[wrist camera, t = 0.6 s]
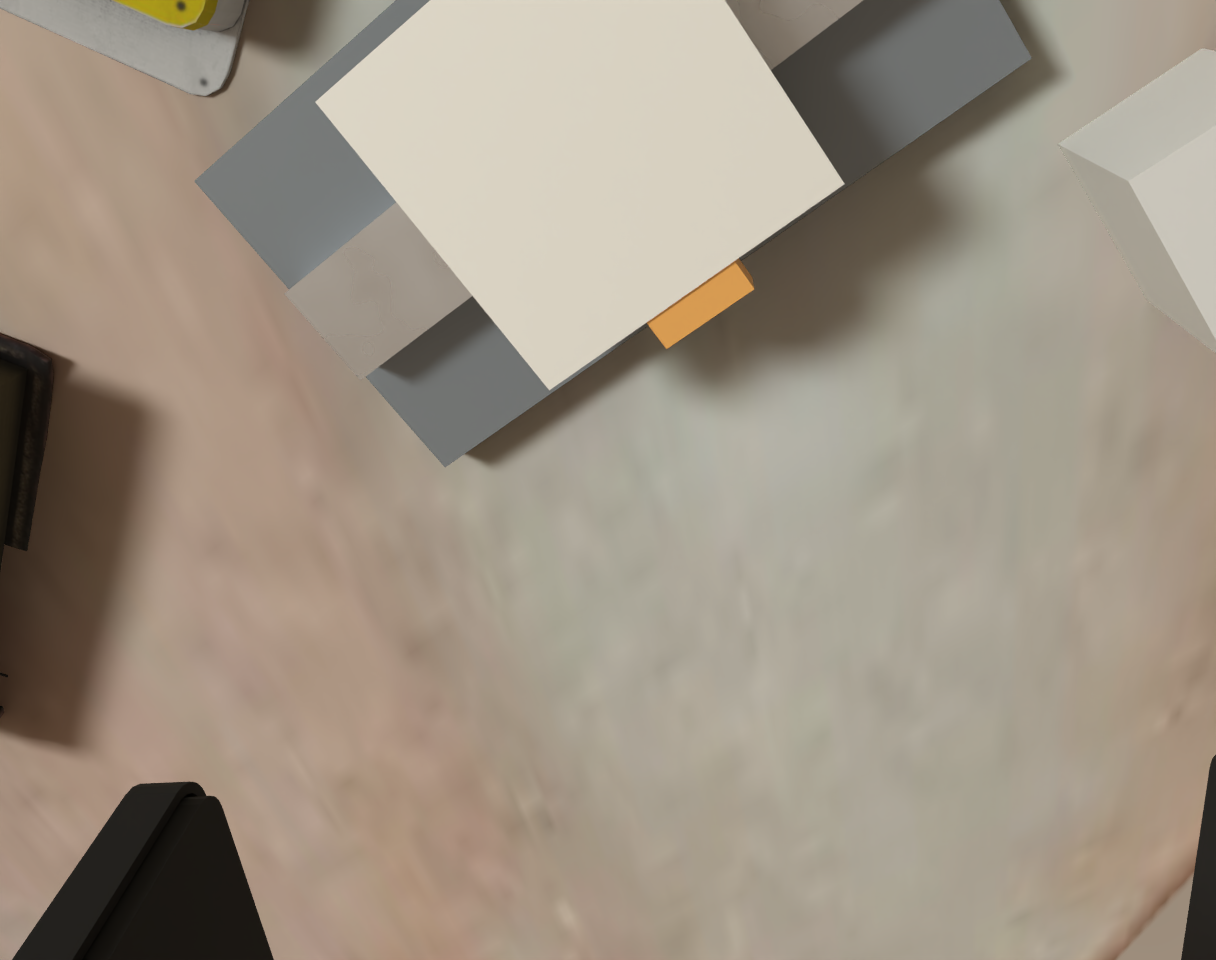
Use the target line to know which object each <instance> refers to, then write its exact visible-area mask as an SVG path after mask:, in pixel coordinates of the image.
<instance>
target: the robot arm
mask: <svg viewBox="0 0 1216 960" xmlns="http://www.w3.org/2000/svg"><path fill="white" fill-rule="evenodd" d="M12 960H274V959H273V956H272V953H271V950H270V947H269V944H268V941H267V938H266V935H265V932H264V929H263V927H262V924H261V921H260V918H259V915H258V912H257V909H256V906H255V903H254V900H253V897H252V894H251V891H250V888H249V885H248V882H247V879H246V876H245V873H244V870H243V867H242V864H241V861H240V858H239V855H238V852H237V849H236V847H235V844H234V841H233V838H232V835H231V832H230V829H229V826H228V823H227V820H226V817H225V814H224V811H223V808H222V806H221V804H220V802H219V800H218V799H217V798H216V797H214V796H206V794H205V792H204V790H203V788H202V787H201V786H200V785H199V784H198V783H195V782H173V783H150V784H139V785H136V786H134V787H132V788H131V789H130V791H129V792H128V793H127V794H126V795H125V796H124V798H123V799H122V801H121V802H120V804H119V805H118V807H117V808H116V809H115V811H114V812H113V814H112V815H111V817H110V818H109V820H108V821H107V823H106V824H105V825H104V827H103V828H102V830H101V831H100V833H99V834H98V836H97V837H96V839H95V840H94V841H93V843H92V844H91V846H90V847H89V849H88V850H87V852H86V853H85V855H84V856H83V857H82V859H81V860H80V862H79V863H78V865H77V866H76V868H75V869H74V870H73V872H72V873H71V875H70V876H69V878H68V879H67V881H66V882H65V884H64V885H63V886H62V888H61V889H60V891H59V892H58V894H57V895H56V897H55V898H54V900H53V901H52V902H51V904H50V905H49V907H48V908H47V910H46V911H45V913H44V914H43V916H42V917H41V918H40V920H39V921H38V923H37V924H36V926H35V927H34V929H33V930H32V932H31V933H30V934H29V936H28V937H27V939H26V940H25V942H24V943H23V945H22V946H21V947H20V949H19V950H18V952H17V953H16V955H15V956H14V958H13V959H12ZM1181 960H1216V755H1215V756H1214V757H1213V759H1212V761H1211V765H1210V770H1209V777H1208V783H1207V790H1206V797H1205V803H1204V810H1203V817H1202V824H1201V830H1200V837H1199V844H1198V850H1197V857H1196V864H1195V871H1194V877H1193V884H1192V891H1191V898H1190V904H1189V911H1188V918H1187V924H1186V931H1185V938H1184V944H1183V951H1182V958H1181Z"/></svg>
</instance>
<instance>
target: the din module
mask: <svg viewBox="0 0 1216 960" xmlns="http://www.w3.org/2000/svg"><path fill="white" fill-rule="evenodd" d="M1058 145H1059V147H1060V149H1061V151H1062V152H1063V154H1064V156H1065V158H1066V159H1067V161H1068V163H1069V165H1070V166H1071V168H1072V170H1073V172H1074V173H1075V175H1076V177H1077V179H1078V180H1079V182H1080V184H1081V186H1082V188H1083V189H1084V191H1085V193H1086V195H1087V196H1088V198H1089V200H1090V202H1091V203H1092V205H1093V207H1094V209H1095V210H1096V212H1097V214H1098V216H1099V217H1100V219H1101V221H1102V223H1103V224H1104V226H1105V228H1106V230H1107V231H1108V233H1109V235H1110V237H1111V238H1112V240H1113V242H1114V244H1115V245H1116V247H1117V249H1118V251H1119V253H1120V254H1121V256H1122V258H1123V260H1124V261H1125V263H1126V265H1127V267H1128V268H1129V270H1130V272H1131V274H1132V275H1133V277H1134V279H1135V281H1136V282H1137V284H1138V286H1139V288H1140V289H1141V291H1142V293H1143V295H1144V296H1145V298H1146V300H1147V301H1148V302H1150V303H1151V304H1152V305H1153V306H1155V307H1156V308H1157V309H1159V310H1160V311H1161V312H1163V313H1164V314H1165V315H1166V316H1168V317H1169V318H1170V319H1172V320H1173V321H1174V322H1176V323H1177V324H1178V325H1179V326H1181V327H1182V328H1183V329H1185V330H1186V331H1187V332H1189V333H1190V334H1191V335H1192V336H1194V337H1195V338H1196V339H1198V340H1199V341H1200V342H1202V343H1203V344H1204V345H1205V346H1207V347H1208V348H1209V349H1211V350H1212V351H1213V352H1215V353H1216V51H1213V50H1208V49H1203V48H1201V49H1200V50H1198V51H1197V52H1195V53H1194V54H1192V55H1191V56H1189V57H1188V58H1186V59H1185V60H1183V61H1182V62H1180V63H1179V64H1177V65H1176V66H1174V67H1173V68H1171V69H1170V70H1168V71H1167V72H1165V73H1164V74H1162V75H1161V76H1159V77H1158V78H1156V79H1155V80H1153V81H1152V82H1150V83H1149V84H1147V85H1146V86H1144V87H1143V88H1141V89H1140V90H1138V91H1137V92H1135V93H1134V94H1132V95H1131V96H1129V97H1128V98H1126V99H1125V100H1123V101H1122V102H1120V103H1119V104H1117V105H1116V106H1114V107H1113V108H1111V109H1110V110H1108V111H1107V112H1105V113H1104V114H1102V115H1101V116H1099V117H1098V118H1096V119H1095V120H1093V121H1092V122H1090V123H1089V124H1087V125H1086V126H1084V127H1083V128H1081V129H1080V130H1078V131H1077V132H1075V133H1074V134H1072V135H1071V136H1069V137H1068V138H1066V139H1065V140H1063V141H1062V142H1060V143H1059V144H1058Z"/></svg>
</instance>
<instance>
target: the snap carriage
mask: <svg viewBox="0 0 1216 960" xmlns="http://www.w3.org/2000/svg"><path fill="white" fill-rule="evenodd" d="M316 104H317V105H318V106H319V107H320V109H321V110H322V111H323V112H324V114H325V115H326V116H327V117H328V118H329V120H330V121H331V122H332V123H333V125H334V126H335V127H336V128H337V130H338V131H339V132H340V133H341V134H342V136H343V137H344V138H345V139H346V141H347V142H348V143H349V144H350V146H351V147H352V148H353V149H354V150H355V152H356V153H357V154H358V155H359V157H360V158H361V159H362V160H363V162H364V163H365V164H366V165H367V166H368V168H369V169H370V170H371V171H372V173H373V174H374V175H375V176H376V178H377V179H378V180H379V181H380V182H381V184H382V185H383V186H384V187H385V189H386V190H387V191H388V192H389V194H390V195H391V196H392V197H393V198H394V200H395V201H396V202H397V203H398V205H399V206H400V207H401V208H402V210H403V211H404V212H405V213H406V214H407V216H408V217H409V218H410V219H411V221H412V222H413V223H414V224H415V226H416V227H417V228H418V229H419V230H420V232H421V233H422V234H423V235H424V237H425V238H426V239H427V240H428V242H429V243H430V244H431V245H432V246H433V248H434V249H435V250H436V251H437V253H438V254H439V255H440V256H441V258H442V259H443V260H444V261H445V263H446V264H447V265H448V266H449V267H450V269H451V270H452V271H453V272H454V274H455V275H456V276H457V277H458V279H459V280H460V281H461V282H462V283H463V285H464V286H465V287H466V288H467V290H468V291H469V292H470V293H471V295H472V296H473V297H474V298H475V299H476V301H477V302H478V303H479V304H480V306H481V307H482V308H483V309H484V311H485V312H486V313H487V314H488V315H489V317H490V318H491V319H492V320H493V322H494V323H495V324H496V325H497V327H498V328H499V329H500V330H501V331H502V333H503V334H504V335H505V336H506V338H507V339H508V340H509V341H510V343H511V344H512V345H513V346H514V347H515V349H516V350H517V351H518V352H519V354H520V355H521V356H522V357H523V359H524V360H525V361H526V362H527V363H528V365H529V366H530V367H531V368H532V370H533V371H534V372H535V373H536V375H537V376H538V377H539V378H540V379H541V381H542V382H543V383H544V384H545V386H546V387H547V388H548V389H549V390H551V389H552V388H553V387H555V386H556V385H558V384H559V383H561V382H562V381H563V380H565V379H566V378H568V377H569V376H571V375H572V374H574V373H575V372H576V371H578V370H579V369H581V368H582V367H584V366H585V365H586V364H588V363H589V362H591V361H592V360H594V359H595V358H596V357H598V356H599V355H601V354H602V353H604V352H605V351H606V350H608V349H609V348H611V347H612V346H614V345H615V344H616V343H618V342H619V341H621V340H622V339H624V338H625V337H626V336H628V335H629V334H631V333H632V332H634V331H635V330H636V329H638V328H639V327H641V326H642V325H644V324H645V323H647V324H648V325H649V327H650V328H651V329H652V331H653V332H654V333H655V335H656V336H657V337H658V339H659V340H660V341H661V342H662V344H663V345H664V346H665V348H666V349H668V348H669V347H671V346H672V345H673V344H675V343H676V342H678V341H679V340H681V339H682V338H684V337H685V336H687V335H688V334H690V333H691V332H692V331H694V330H695V329H697V328H698V327H700V326H701V325H703V324H704V323H706V322H707V321H709V320H710V319H711V318H713V317H714V316H716V315H717V314H719V313H720V312H722V311H723V310H725V309H726V308H728V307H729V306H730V305H732V304H733V303H735V302H736V301H738V300H739V299H741V298H742V297H744V296H745V295H747V294H748V293H749V292H751V291H752V290H754V284H753V278H752V276H751V275H750V273H749V272H748V271H747V269H746V268H745V266H744V265H743V264H742V262H741V261H740V259H739V257H741V256H742V255H744V254H745V253H747V252H748V251H750V250H751V249H752V248H754V247H755V246H757V245H758V244H760V243H761V242H762V241H764V240H765V239H767V238H768V237H770V236H771V235H772V234H774V233H775V232H777V231H778V230H780V229H781V228H782V227H784V226H785V225H787V224H788V223H790V222H791V221H792V220H794V219H795V218H797V217H798V216H800V215H801V214H802V213H804V212H805V211H807V210H808V209H810V208H811V207H812V206H814V205H815V204H817V203H818V202H820V201H821V200H822V199H824V198H825V197H827V196H828V195H830V194H831V193H832V192H834V191H835V190H837V189H838V188H840V187H841V186H843V185H844V182H843V181H842V179H841V178H840V176H839V175H838V173H837V171H836V170H835V168H834V167H833V165H832V164H831V162H830V161H829V159H828V158H827V156H826V155H825V153H824V151H823V150H822V148H821V147H820V145H819V144H818V142H817V141H816V139H815V138H814V136H813V135H812V133H811V132H810V130H809V128H808V127H807V125H806V124H805V122H804V121H803V119H802V118H801V116H800V115H799V113H798V112H797V110H796V108H795V107H794V105H793V104H792V102H791V101H790V99H789V98H788V96H787V95H786V93H785V92H784V90H783V89H782V87H781V85H780V84H779V82H778V81H777V79H776V78H775V76H774V75H773V73H772V72H771V70H770V69H769V67H768V66H767V64H766V62H765V61H764V59H763V58H762V56H761V55H760V53H759V52H758V50H757V49H756V47H755V46H754V44H753V42H752V41H751V39H750V38H749V36H748V35H747V33H746V32H745V30H744V29H743V27H742V26H741V24H740V23H739V21H738V19H737V18H736V16H735V15H734V13H733V12H732V10H731V9H730V7H729V6H728V4H727V3H726V1H725V0H430V1H429V2H428V3H426V4H425V5H424V6H423V7H422V8H421V9H420V10H418V11H417V12H416V13H415V14H414V15H413V16H412V17H411V18H409V19H408V20H407V21H406V22H405V23H404V24H403V25H402V26H400V27H399V28H398V29H397V30H396V31H395V32H394V33H392V34H391V35H390V36H389V37H388V38H387V39H386V40H385V41H383V42H382V43H381V44H380V45H379V46H378V47H377V48H376V49H374V50H373V51H372V52H371V53H370V54H369V55H368V56H366V57H365V58H364V59H363V60H362V61H361V62H360V63H359V64H357V65H356V66H355V67H354V68H353V69H352V70H351V71H349V72H348V73H347V74H346V75H345V76H344V77H343V78H342V79H340V80H339V81H338V82H337V83H336V84H335V85H334V86H333V87H331V88H330V89H329V90H328V91H327V92H326V93H325V94H323V95H322V96H321V97H320V98H319V99H318V100H317V101H316Z"/></svg>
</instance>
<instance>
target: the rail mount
mask: <svg viewBox="0 0 1216 960" xmlns="http://www.w3.org/2000/svg"><path fill="white" fill-rule="evenodd" d="M429 1H430V0H396V1H395V2H394V3H392V4H391V5H390V6H389V7H388V8H387V9H386V10H385V11H383V12H382V13H381V14H380V15H379V16H378V17H377V18H376V19H375V20H373V21H372V22H371V23H370V24H369V25H368V26H367V27H366V28H365V29H363V30H362V31H361V32H360V33H359V34H358V35H357V36H356V37H354V38H353V39H352V40H351V41H350V42H349V43H348V44H347V45H346V46H344V47H343V48H342V49H341V50H340V51H339V52H338V53H337V54H336V55H334V56H333V57H332V58H331V59H330V60H329V61H328V62H327V63H325V64H324V65H323V66H322V67H321V68H320V69H319V70H318V71H317V72H315V73H314V74H313V75H312V76H311V77H310V78H309V79H308V80H307V81H305V82H304V83H303V84H302V85H301V86H300V87H299V88H298V89H296V90H295V91H294V92H293V93H292V94H291V95H290V96H289V97H288V98H286V99H285V100H284V101H283V102H282V103H281V104H280V105H279V106H277V107H276V108H275V109H274V110H273V111H272V112H271V113H270V114H269V115H267V116H266V117H265V118H264V119H263V120H262V121H261V122H260V123H259V124H257V125H256V126H255V127H254V128H253V129H252V130H251V131H250V132H248V133H247V134H246V135H245V136H244V137H243V138H242V139H241V140H240V141H238V142H237V143H236V144H235V145H234V146H233V147H232V148H231V149H230V150H228V151H227V152H226V153H225V154H224V155H223V156H222V157H221V158H219V159H218V160H217V161H216V162H215V163H214V164H213V165H212V166H211V167H209V168H208V169H207V170H206V171H205V172H204V173H203V174H202V175H201V176H199V177H198V178H197V179H196V180H195V183H196V184H197V185H198V186H199V187H200V188H201V189H202V191H203V192H204V193H205V194H206V195H207V196H208V197H209V199H210V200H211V201H212V202H213V203H214V204H215V205H216V207H217V208H218V209H219V210H220V211H221V212H222V213H223V215H224V216H225V217H226V218H227V219H228V220H229V221H230V223H231V224H232V225H233V226H234V227H235V228H236V229H237V231H238V232H239V233H240V234H241V235H242V236H243V237H244V238H245V240H246V241H247V242H248V243H249V244H250V245H251V246H252V248H253V249H254V250H255V251H256V252H257V253H258V254H259V256H260V257H261V258H262V259H263V260H264V261H265V262H266V264H267V265H268V266H269V267H270V268H271V269H272V270H273V272H274V273H275V274H276V275H277V276H278V277H279V278H280V280H281V281H282V282H283V283H284V284H285V285H286V286H287V288H288V289H289V290H288V291H287V292H286V293H284V294H285V295H286V296H287V297H288V299H289V300H290V301H291V302H292V303H293V304H294V305H295V307H296V308H297V309H298V310H299V311H300V312H301V313H302V314H303V316H304V317H305V318H306V319H307V320H308V321H309V322H310V324H311V325H312V326H313V327H314V328H315V329H316V330H317V332H318V333H319V334H320V335H321V336H322V337H323V338H324V340H325V341H326V342H327V343H328V344H329V345H330V346H331V347H332V349H333V350H334V351H335V352H336V353H337V354H338V355H339V357H340V358H341V359H342V360H343V361H344V362H345V363H346V365H347V366H348V367H349V368H350V369H351V370H352V371H353V372H354V374H355V375H356V376H357V377H358V378H359V379H360V380H362V379H363V378H364V377H366V378H367V379H368V380H369V381H370V382H371V383H372V385H373V386H374V387H375V388H376V389H377V390H378V391H379V393H380V394H381V395H382V396H383V397H384V398H385V399H386V401H387V402H388V403H389V404H390V405H391V406H392V407H393V409H394V410H395V411H396V412H397V413H398V414H399V415H400V417H401V418H402V419H403V420H404V421H405V422H406V423H407V424H408V426H409V427H410V428H411V429H412V430H413V431H414V432H415V434H416V435H417V436H418V437H419V438H420V439H421V440H422V442H423V443H424V444H425V445H426V446H427V447H428V448H429V450H430V451H431V452H432V453H433V454H434V455H435V456H436V458H437V459H438V460H439V461H440V462H441V463H442V464H443V466H444V467H446V466H448V465H449V464H451V463H452V462H454V461H455V460H456V459H458V458H459V457H461V456H462V455H464V454H465V453H466V452H468V451H469V450H471V449H472V448H474V447H475V446H476V445H478V444H479V443H481V442H482V441H484V440H485V439H486V438H488V437H489V436H491V435H492V434H494V433H495V432H497V431H498V430H499V429H501V428H502V427H504V426H505V425H507V424H508V423H509V422H511V421H512V420H514V419H515V418H517V417H518V416H519V415H521V414H522V413H524V412H525V411H527V410H528V409H530V408H531V407H532V406H534V405H535V404H537V403H538V402H540V401H541V400H542V399H544V398H545V397H547V396H548V395H550V394H551V393H552V392H554V391H555V390H557V389H558V388H560V387H561V386H562V385H564V384H565V383H567V382H568V381H570V380H571V379H573V378H574V377H575V376H577V375H578V374H580V373H581V372H583V371H584V370H585V369H587V368H588V367H590V366H591V365H593V364H594V363H595V362H597V361H598V360H600V359H601V358H603V357H604V356H606V355H607V354H608V353H610V352H611V351H613V350H614V349H616V348H617V347H618V346H620V345H621V344H623V343H624V342H626V341H627V340H628V339H630V338H631V337H633V336H634V335H636V334H637V333H639V332H640V331H641V330H643V329H644V328H646V327H647V326H649V325H648V324H647V323H645V324H644V325H642V326H641V327H639V328H638V329H636V330H635V331H634V332H632V333H631V334H629V335H628V336H626V337H625V338H624V339H622V340H621V341H619V342H618V343H616V344H615V345H614V346H612V347H611V348H609V349H608V350H606V351H605V352H604V353H602V354H601V355H599V356H598V357H596V358H595V359H594V360H592V361H591V362H589V363H588V364H586V365H585V366H584V367H582V368H581V369H579V370H578V371H576V372H575V373H574V374H572V375H571V376H569V377H568V378H566V379H565V380H563V381H562V382H561V383H559V384H558V385H556V386H555V387H553V388H552V389H551V390H549V389H548V388H547V387H546V386H545V384H544V383H543V382H542V381H541V379H540V378H539V377H538V376H537V375H536V373H535V372H534V371H533V370H532V368H531V367H530V366H529V365H528V363H527V362H526V361H525V360H524V359H523V357H522V356H521V355H520V354H519V352H518V351H517V350H516V349H515V347H514V346H513V345H512V344H511V343H510V341H509V340H508V339H507V338H506V336H505V335H504V334H503V333H502V331H501V330H500V329H499V328H498V327H497V325H496V324H495V323H494V322H493V320H492V319H491V318H490V317H489V315H488V314H487V313H486V312H485V311H484V309H483V308H482V307H481V306H480V304H479V303H478V302H477V301H476V299H475V298H474V297H473V296H472V295H471V293H470V292H469V291H468V290H467V288H466V287H465V286H464V285H463V283H462V282H461V281H460V280H459V279H458V277H457V276H456V275H455V274H454V272H453V271H452V270H451V269H450V267H449V266H448V265H447V264H446V263H445V261H444V260H443V259H442V258H441V256H440V255H439V254H438V253H437V251H436V250H435V249H434V248H433V246H432V245H431V244H430V243H429V242H428V240H427V239H426V238H425V237H424V235H423V234H422V233H421V232H420V230H419V229H418V228H417V227H416V226H415V224H414V223H413V222H412V221H411V219H410V218H409V217H408V216H407V214H406V213H405V212H404V211H403V210H402V208H401V207H400V206H399V205H398V203H397V202H396V201H395V200H394V198H393V197H392V196H391V195H390V194H389V192H388V191H387V190H386V189H385V187H384V186H383V185H382V184H381V182H380V181H379V180H378V179H377V178H376V176H375V175H374V174H373V173H372V171H371V170H370V169H369V168H368V166H367V165H366V164H365V163H364V162H363V160H362V159H361V158H360V157H359V155H358V154H357V153H356V152H355V150H354V149H353V148H352V147H351V146H350V144H349V143H348V142H347V141H346V139H345V138H344V137H343V136H342V134H341V133H340V132H339V131H338V130H337V128H336V127H335V126H334V125H333V123H332V122H331V121H330V120H329V118H328V117H327V116H326V115H325V114H324V112H323V111H322V110H321V109H320V107H319V106H318V105H317V104H316V101H317V100H318V99H319V98H320V97H321V96H322V95H323V94H325V93H326V92H327V91H328V90H329V89H330V88H331V87H333V86H334V85H335V84H336V83H337V82H338V81H339V80H340V79H342V78H343V77H344V76H345V75H346V74H347V73H348V72H349V71H351V70H352V69H353V68H354V67H355V66H356V65H357V64H359V63H360V62H361V61H362V60H363V59H364V58H365V57H366V56H368V55H369V54H370V53H371V52H372V51H373V50H374V49H376V48H377V47H378V46H379V45H380V44H381V43H382V42H383V41H385V40H386V39H387V38H388V37H389V36H390V35H391V34H392V33H394V32H395V31H396V30H397V29H398V28H399V27H400V26H402V25H403V24H404V23H405V22H406V21H407V20H408V19H409V18H411V17H412V16H413V15H414V14H415V13H416V12H417V11H418V10H420V9H421V8H422V7H423V6H424V5H425V4H426V3H428V2H429ZM725 1H726V3H727V4H728V6H729V7H730V9H731V10H732V12H733V13H734V15H735V16H736V18H737V19H738V21H739V23H740V24H741V26H742V27H743V29H744V30H745V32H746V33H747V35H748V36H749V38H750V39H751V41H752V42H753V44H754V46H755V47H756V49H757V50H758V52H759V53H760V55H761V56H762V58H763V59H764V61H765V62H766V64H767V66H768V67H769V69H770V70H771V72H772V73H773V75H774V76H775V78H776V79H777V81H778V82H779V84H780V85H781V87H782V89H783V90H784V92H785V93H786V95H787V96H788V98H789V99H790V101H791V102H792V104H793V105H794V107H795V108H796V110H797V112H798V113H799V115H800V116H801V118H802V119H803V121H804V122H805V124H806V125H807V127H808V128H809V130H810V132H811V133H812V135H813V136H814V138H815V139H816V141H817V142H818V144H819V145H820V147H821V148H822V150H823V151H824V153H825V155H826V156H827V158H828V159H829V161H830V162H831V164H832V165H833V167H834V168H835V170H836V171H837V173H838V175H839V176H840V178H841V179H842V181H843V182H844V185H843V186H841V187H840V188H838V189H837V190H835V191H834V192H832V193H831V194H830V195H828V196H827V197H825V198H824V199H822V200H821V201H820V202H818V203H817V204H815V205H814V206H812V207H811V208H810V209H808V210H807V211H805V212H804V213H802V214H801V215H800V216H798V217H797V218H795V219H794V220H792V221H791V222H790V223H788V224H787V225H785V226H784V227H782V228H781V229H780V230H778V231H777V232H775V233H774V234H772V235H771V236H770V237H768V238H767V239H765V240H764V241H762V242H761V243H760V244H758V245H757V246H755V247H754V248H752V249H751V250H750V251H748V252H747V253H745V254H744V255H742V256H741V257H739V259H740V261H742V260H743V259H745V258H746V257H748V256H749V255H750V254H752V253H753V252H755V251H756V250H758V249H759V248H760V247H762V246H763V245H765V244H766V243H768V242H769V241H770V240H772V239H773V238H775V237H776V236H778V235H779V234H780V233H782V232H783V231H785V230H786V229H788V228H789V227H791V226H792V225H793V224H795V223H796V222H798V221H799V220H801V219H802V218H803V217H805V216H806V215H808V214H809V213H811V212H812V211H813V210H815V209H816V208H818V207H819V206H821V205H822V204H824V203H825V202H826V201H828V200H829V199H831V198H832V197H834V196H835V195H836V194H838V193H839V192H841V191H842V190H844V189H845V188H846V187H848V186H849V185H851V184H852V183H854V182H855V181H857V180H858V179H859V178H861V177H862V176H864V175H865V174H867V173H868V172H869V171H871V170H872V169H874V168H875V167H877V166H878V165H879V164H881V163H882V162H884V161H885V160H887V159H888V158H889V157H891V156H892V155H894V154H895V153H897V152H898V151H900V150H901V149H902V148H904V147H905V146H907V145H908V144H910V143H911V142H912V141H914V140H915V139H917V138H918V137H920V136H921V135H922V134H924V133H925V132H927V131H928V130H930V129H931V128H933V127H934V126H935V125H937V124H938V123H940V122H941V121H943V120H944V119H945V118H947V117H948V116H950V115H951V114H953V113H954V112H955V111H957V110H958V109H960V108H961V107H963V106H964V105H965V104H967V103H968V102H970V101H971V100H973V99H974V98H976V97H977V96H978V95H980V94H981V93H983V92H984V91H986V90H987V89H988V88H990V87H991V86H993V85H994V84H996V83H997V82H998V81H1000V80H1001V79H1003V78H1004V77H1006V76H1007V75H1009V74H1010V73H1011V72H1013V71H1014V70H1016V69H1017V68H1019V67H1020V66H1021V65H1023V64H1024V63H1026V62H1027V61H1029V60H1030V59H1031V58H1032V57H1031V56H1030V54H1029V52H1028V50H1027V49H1026V47H1025V45H1024V43H1023V41H1022V40H1021V38H1020V36H1019V34H1018V33H1017V31H1016V29H1015V27H1014V25H1013V24H1012V22H1011V20H1010V18H1009V17H1008V15H1007V13H1006V11H1005V9H1004V8H1003V6H1002V4H1001V2H1000V1H999V0H725Z"/></svg>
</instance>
